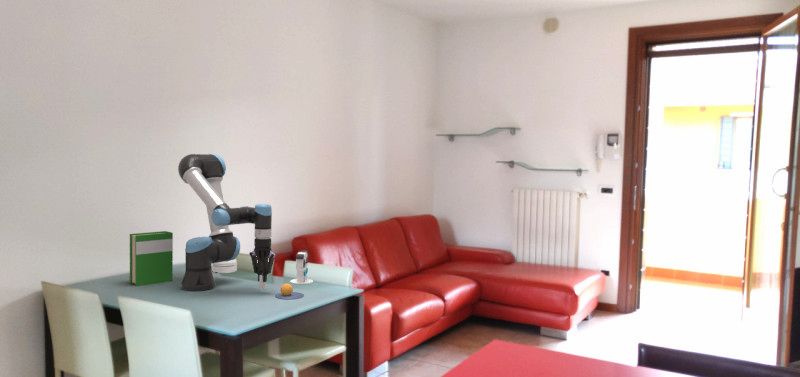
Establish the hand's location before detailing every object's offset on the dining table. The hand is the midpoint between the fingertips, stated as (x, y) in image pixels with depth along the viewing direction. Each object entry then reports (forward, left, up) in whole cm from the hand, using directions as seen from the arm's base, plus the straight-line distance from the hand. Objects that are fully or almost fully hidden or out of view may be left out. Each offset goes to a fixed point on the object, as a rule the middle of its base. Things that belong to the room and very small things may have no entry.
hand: (262, 288), depth 266 cm
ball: (+13, 0, +1) cm, 13 cm away
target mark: (+14, 0, -2) cm, 14 cm away
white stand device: (+6, +28, -2) cm, 29 cm away
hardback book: (-60, -3, -2) cm, 60 cm away
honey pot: (-44, +35, -2) cm, 57 cm away
